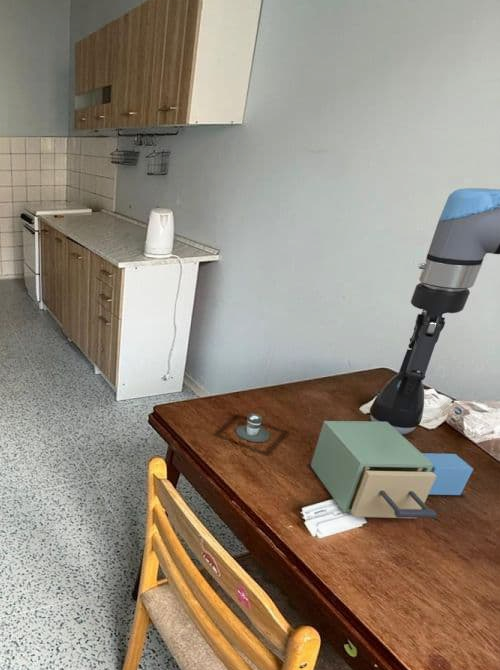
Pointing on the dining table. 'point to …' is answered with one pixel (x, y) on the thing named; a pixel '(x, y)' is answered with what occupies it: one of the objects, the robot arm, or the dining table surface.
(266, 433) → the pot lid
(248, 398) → the dining table surface
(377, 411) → the black bell
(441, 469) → the blue cuboid
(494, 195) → the robot arm
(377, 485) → the drawer
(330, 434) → the cabinet
